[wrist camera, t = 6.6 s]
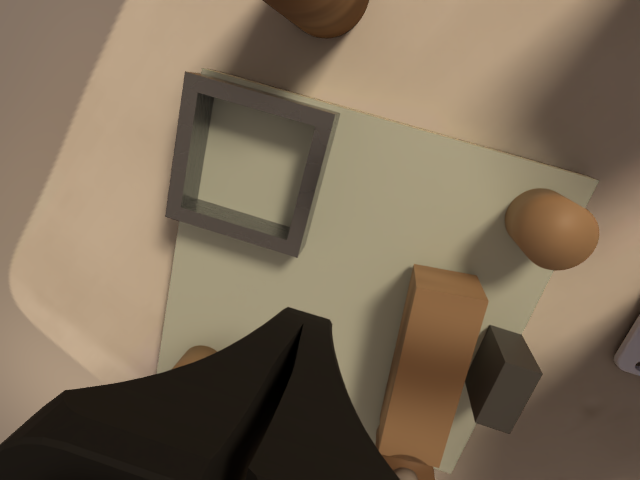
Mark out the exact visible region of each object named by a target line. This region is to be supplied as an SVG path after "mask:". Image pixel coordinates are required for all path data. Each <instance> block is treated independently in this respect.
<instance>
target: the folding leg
mask: <svg viewBox="0 0 640 480" xmlns="http://www.w3.org/2000/svg"><path fill="white" fill-rule="evenodd" d="M488 302H489V301H488V299H487V296H486V294H485V292H484V290H483V288H482V286H481V283H480V281H479V279H478V277H477V275H472V274H467V273H461V272H456V271H450V270H445V269H439V268H434V267H428V266H423V265H417V264H414V265H413V270H412V274H411V279H410V283H409V288H408V292H407V297H406V301H405V306H404V310H403V315H402V319H401V323H400V328H399V332H398V337H397V341H396V346H395V350H394V355H393V359H392V364H391V368H390V373H389V377H388V382H387V386H386V391H385V395H384V400H383V404H382V409H381V413H380V425H379V426H378V428H377V431H376V445H375V446H376V447H377V449H378V450H379V452H380V453H381V455H382V456H383V458H384V459H385V460H386V462H387V463H388V464H389V466H390V467H391V468H392V470H393V471H394V472H395V474H396V475H397V476H398V477H399V479H400V480H435V478H434V469H433V467H436V468H439V467H440V464H441V460H442V457H443V453H444V450H445V447H446V443H447V440H448V437H449V433H450V430H451V427H452V423H453V420H454V416H455V413H456V410H457V406H458V403H459V400H460V396H461V393H462V390H463V386H464V383H465V380H466V376H467V373H468V369H469V366H470V363H471V359H472V356H473V353H474V349H475V346H476V343H477V339H478V336H479V333H480V329H481V326H482V322H483V319H484V316H485V312H486V309H487V306H488Z"/></svg>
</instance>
